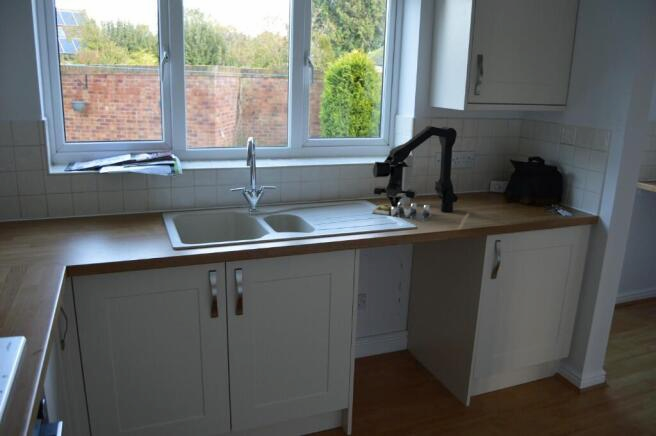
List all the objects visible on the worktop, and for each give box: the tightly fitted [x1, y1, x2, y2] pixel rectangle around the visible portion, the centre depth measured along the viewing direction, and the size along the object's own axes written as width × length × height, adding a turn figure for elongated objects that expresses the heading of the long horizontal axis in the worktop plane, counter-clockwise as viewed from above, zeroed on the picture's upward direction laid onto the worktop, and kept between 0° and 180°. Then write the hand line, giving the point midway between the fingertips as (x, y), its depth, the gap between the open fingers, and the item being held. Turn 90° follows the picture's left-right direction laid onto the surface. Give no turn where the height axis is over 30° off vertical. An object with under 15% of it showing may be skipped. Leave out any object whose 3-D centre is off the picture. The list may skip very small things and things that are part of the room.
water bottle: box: [399, 153, 414, 206], centre depth 256 cm, size 9×8×25 cm
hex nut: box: [380, 203, 392, 213], centre depth 240 cm, size 5×6×3 cm
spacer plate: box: [371, 202, 433, 222], centre depth 237 cm, size 13×25×5 cm, turn 68°
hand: (394, 210), depth 238 cm, fingers closed
